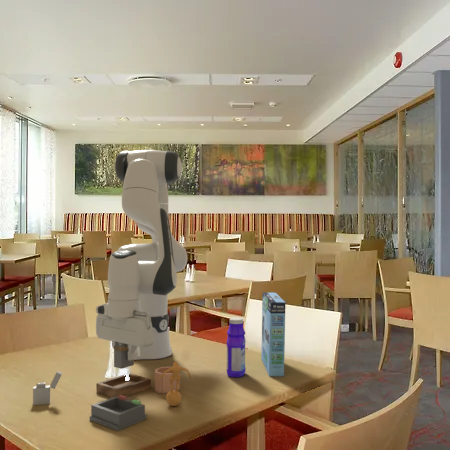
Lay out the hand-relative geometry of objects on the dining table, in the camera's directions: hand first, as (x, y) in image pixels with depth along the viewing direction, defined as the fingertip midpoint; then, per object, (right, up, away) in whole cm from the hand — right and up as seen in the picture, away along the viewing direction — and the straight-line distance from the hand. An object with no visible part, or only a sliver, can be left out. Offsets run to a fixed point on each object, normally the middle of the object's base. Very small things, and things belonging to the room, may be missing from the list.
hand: (124, 358), depth 147 cm
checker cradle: (+2, -9, -21) cm, 23 cm away
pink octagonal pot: (+12, -9, +1) cm, 15 cm away
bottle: (+31, -9, +15) cm, 36 cm away
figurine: (+15, -10, -12) cm, 22 cm away
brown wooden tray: (0, -9, 0) cm, 9 cm away
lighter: (-18, -9, -10) cm, 22 cm away
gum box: (+43, -9, +23) cm, 50 cm away
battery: (0, -2, 0) cm, 2 cm away
